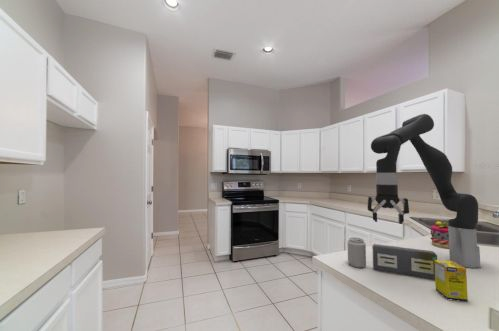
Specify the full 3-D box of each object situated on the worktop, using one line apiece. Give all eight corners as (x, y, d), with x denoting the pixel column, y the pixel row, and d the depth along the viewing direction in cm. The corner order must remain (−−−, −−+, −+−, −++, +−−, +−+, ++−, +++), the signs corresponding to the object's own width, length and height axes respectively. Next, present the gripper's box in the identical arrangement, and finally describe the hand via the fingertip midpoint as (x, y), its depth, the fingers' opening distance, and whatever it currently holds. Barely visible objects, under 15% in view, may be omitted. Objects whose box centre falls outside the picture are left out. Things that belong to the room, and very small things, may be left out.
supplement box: (468, 302, 67) (466, 268, 68) (447, 299, 68) (445, 266, 69) (454, 292, 73) (453, 261, 73) (435, 290, 74) (433, 259, 75)
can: (365, 270, 90) (365, 242, 90) (347, 266, 94) (346, 239, 94) (366, 264, 96) (365, 238, 97) (348, 260, 100) (348, 235, 101)
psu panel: (435, 277, 83) (434, 251, 84) (439, 281, 80) (437, 254, 81) (372, 267, 93) (372, 243, 93) (374, 270, 89) (373, 245, 90)
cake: (427, 244, 124) (426, 219, 124) (436, 242, 128) (435, 218, 129) (450, 250, 114) (448, 223, 115) (458, 247, 118) (457, 221, 119)
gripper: (404, 183, 86) (406, 222, 85) (366, 183, 92) (367, 219, 91) (410, 184, 79) (411, 226, 78) (368, 183, 85) (369, 222, 84)
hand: (387, 222), depth 85 cm, fingers open, 8 cm apart
